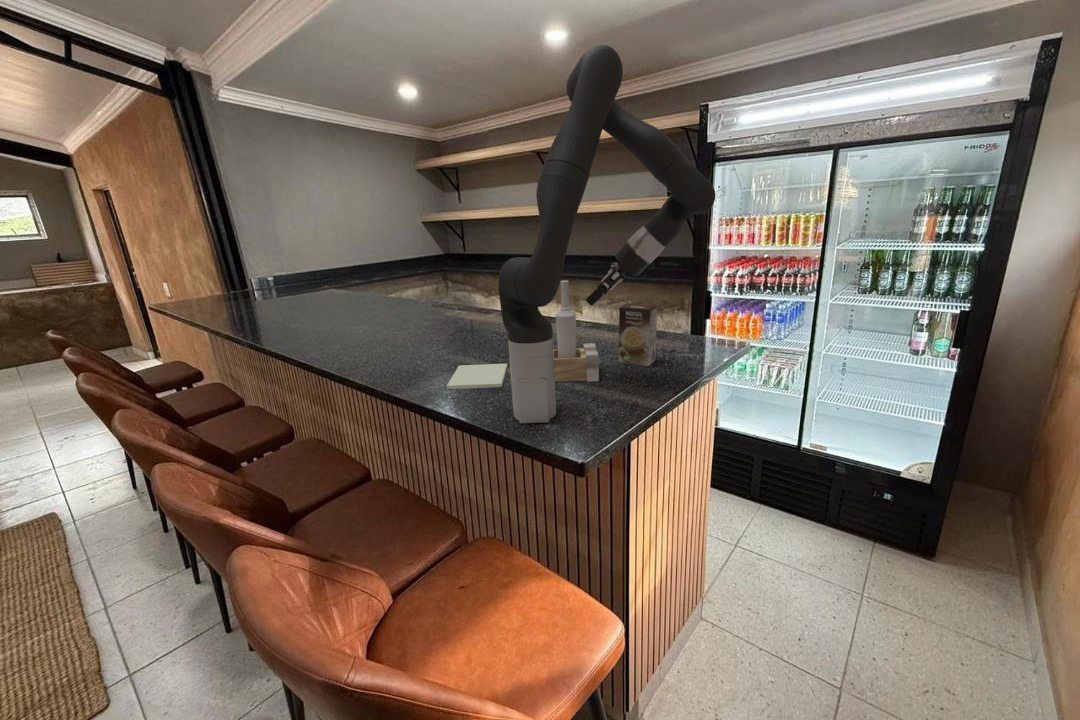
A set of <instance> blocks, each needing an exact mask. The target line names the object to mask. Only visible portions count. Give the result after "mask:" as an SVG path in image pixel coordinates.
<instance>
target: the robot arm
mask: <svg viewBox="0 0 1080 720" xmlns="http://www.w3.org/2000/svg"><path fill="white" fill-rule="evenodd" d="M623 69H624V68H623V64H622V60H621V58H620V55H619V53H618V52H617V51H616V50H615V49H614V48H613V47H612V46H609V45H607V44H597V45H595V46H591V48H589V49H588V50H586V51H585V52H584V53H583V55H581V57H580V58H579V60H578V61H577V63H576V65H575V67H574V68H573V70H572V71H571V72H570V74H569V76H568V78H567V81H566V87H565V88H566V94H567V97H568V100H569V102H570V107H569V109H568V111H567V114H566V116H565V119H564V121H563V122H562V124H561V126H560V128H559V130H558V132H557V134H556V136H555V137H554V140H553V142H552V144H551V146H550V148H549V150H548V153H547V155H546V158H545V160H544V163H543V166H542V169H541V172H540V174H539V178H538V181H537V186H536V190H535V191H536V192H535V193H536V205H537V209H538V215H539V232H538V233H539V234H538V236H537V239H536V240H537V241H536V242H535V243H536V244H535V246H534V250H533V252H532V255H531V257H525V256H524V257H522V256H521V257H520V256H519V257H511V258H509V259H508V260H507V261H505V262H504V263H503V264H502V266H501V268H500V270H499V275H498V296H499V304H500V305H499V306H500V312H501V320H502V323H503V326H504V328H505V330H506V332H507V343H508V355H509V368H510V369H509V370H510V384H511V385H510V386H511V398H512V410H513V417H514V418H515V419H516V420H517V421H518V422H519V424H536V423H537V424H538V423H544V424H545V423H549V422H550V420H551V419H553V418H554V417H555V416H556V415H557V403H556V401H557V399H556V382H555V377H554V354H553V349H554V336H553V334H554V333H553V324H552V323H551V322H550V320H548V319H547V318H546V317H545V316H544V315H543V314H542V313H541V310H539V308H540V307H541V308H542V307H545V306H548V305H549V304H550V303H551V302H552V301H553V300H554V298H555V297H556V294H557V293H558V289H559V287H560V285H561V281H562V275H563V271H564V265H565V262H566V260H565V259H566V257H567V252H568V247H569V243H570V239H571V235H572V231H573V229H574V225H575V221H576V217H577V214H578V211H579V208H580V205H581V202H582V200H583V197H584V195H585V194H584V193H585V191H586V188H587V184H588V181H589V178H590V174H591V171H592V167H593V164H594V161H595V159H596V158H595V157H596V154H597V151H598V146H599V143H600V139H601V134H602V132H603V131H604V132H605V133H607V134H609V135H610V136H611V137H612V138H613V139H615V140H616V142H618V143H619V144H621V145H622V146H623V147H624V148H625V149H626V150H628V151H629V152H630V153H631V154H632V155H633V156H634V157H635V158H636V160H638V161H639V163H640V164H641V165H643V167H644V168H645V169H647V171H648V172H649V173H650V174H651V175H652V176H653V177H654V178H655V179H656V180H657V181H658V182H660V183H661V184H662V185H663V186H664V187H665V188H666V189H667V190H668V191H669V192H670V194H669V196H668V197H667V199H666V200H665V201H664V203H663V204H662V205H661V207H660V208H659V210H657V212H655V213H654V215H653V216H651V218H649V219H648V220H647V222H645V224H644V225H643V226H641V227H640V228H639V229H638V230H637V231H636V232H635V233H633V234H632V236H631V237H629V239H627V241H625V243H624V244H623V245H622V246H621V247H620V248H619V249H618V250H617V251H616V252H615V255H614V256H615V259H616V261H618V263H619V264H618V266H616V265H615V264H614V266H612V267H611V268H610V269H609V270H608V271H607V274H606V275H605V276H604V277H603V278H602V279H601V280H600V281H601V283H599V284H598V285H597V286H596V288H595V290H593V291H592V293H591V294H590V295H589V296H587V298H586V299H585V301H586V302H587V303H588V304H589V305H590V306H594V305H595V304H596V303H597V302H598V301H599V300H600V299H601V298H602V297H603V296H605V295H607V293H608V292H609V291H612V290H613V289H615V287H616V286H617V285H618V284H621V283H622V282H623V281H624V280H625V279H626V275H625V274H626V273H628V272H629V273H630V274H631V275H632V276H634V277H638V276H639V275H640V274H641V273H642V272H643V271H644V270H645V269H646V268H647V267H649V265H651V264H652V263H653V262H654V260H656V259H657V258H658V257H659V256H660V255H661V253H662V252H663V251H664V249H665V248H666V247H667V246H669V244H670V243H671V242H672V241H673V240H674V239H675V238H676V237H677V236H678V235H679V234H680V233H681V231H682V228H683V226H684V225H683V224H684V223H685V222H686V221H687V220H689V218H690V217H691V216H692V215H700V214H704V213H706V212H707V211H709V210H710V209H711V208H712V207H713V205H714V203H715V200H716V191H715V188H714V186H713V184H712V183H711V182H710V181H709V179H707V177H706V176H705V175H704V174H703V173H701V171H699V170H698V169H697V168H696V167H695V166H694V165H693V164H692V163H691V162H690V161H689V160H688V159H687V158H686V155H684V153H683V152H682V151H681V150H680V149H679V147H678V146H677V145H676V144H675V143H674V142H673V141H672V140H671V139H670V137H669V136H668V135H667V134H665V133H664V132H663V131H662V130H660V129H659V128H658V127H656V126H654V125H651V124H650V123H647V122H645V121H643V120H641V119H640V118H638V117H636V116H634V115H633V114H631V113H629V112H628V111H627V110H626V109H625V108H624V107H622V105H621V104H619V102H618V101H617V100H616V97H617V95H618V93H619V90H620V88H621V85H622V82H623V73H624V70H623Z"/></svg>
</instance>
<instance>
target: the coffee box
mask: <svg viewBox="0 0 1080 720" xmlns="http://www.w3.org/2000/svg"><path fill="white" fill-rule="evenodd" d="M618 310H619V314H618V316H619V317H618V363H621V364H627V365H635V366H642V367H649V366H651V365H652V364H653V363H654V362H655V361H656V348H657V347H656V345H657V325H658V324H657V322H658V320H657V319H658V305H655V304H654V305H653V304H640V303H628V302H626V303H625V304H623V305H622V306H620V307H619V309H618Z"/></svg>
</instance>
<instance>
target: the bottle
mask: <svg viewBox="0 0 1080 720" xmlns="http://www.w3.org/2000/svg"><path fill="white" fill-rule="evenodd" d="M569 289H570V282H569V280H560V297H561V298H560V299H561V300H560V301H561V302H560V303H561V307H560V309H559V311H558V312H557V313H556V314H555V324H556V327H555V329H556V341H557V343H556V344H557V349H558V358H574V357H576V348H577V315H576V312H574V311H573V310H572V308H571V307H570V290H569Z"/></svg>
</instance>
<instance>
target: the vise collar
mask: <svg viewBox="0 0 1080 720" xmlns="http://www.w3.org/2000/svg"><path fill="white" fill-rule="evenodd" d="M582 345H583V347H576V357H574V358H558V348H553V354H554V377H555V383H559V382H560V383H561V382H583V381H584V382H585V381H586V383H587V382H589V383H591V382H599V381H600V370H599V368H600V367H599V362H600V360H599V353H598V350H597V346H596V344H595V343H594V342H589V343H583V344H582Z"/></svg>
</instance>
